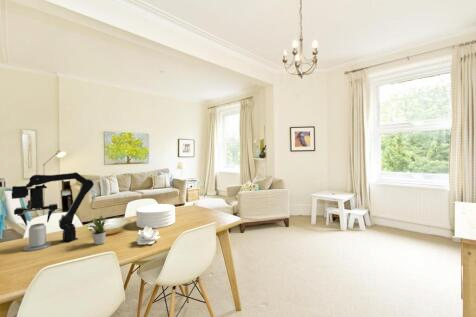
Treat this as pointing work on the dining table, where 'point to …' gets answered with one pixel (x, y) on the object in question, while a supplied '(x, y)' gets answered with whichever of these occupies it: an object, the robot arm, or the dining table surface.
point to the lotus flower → (147, 236)
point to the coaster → (37, 247)
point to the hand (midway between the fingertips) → (37, 223)
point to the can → (37, 235)
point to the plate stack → (155, 215)
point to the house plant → (98, 230)
